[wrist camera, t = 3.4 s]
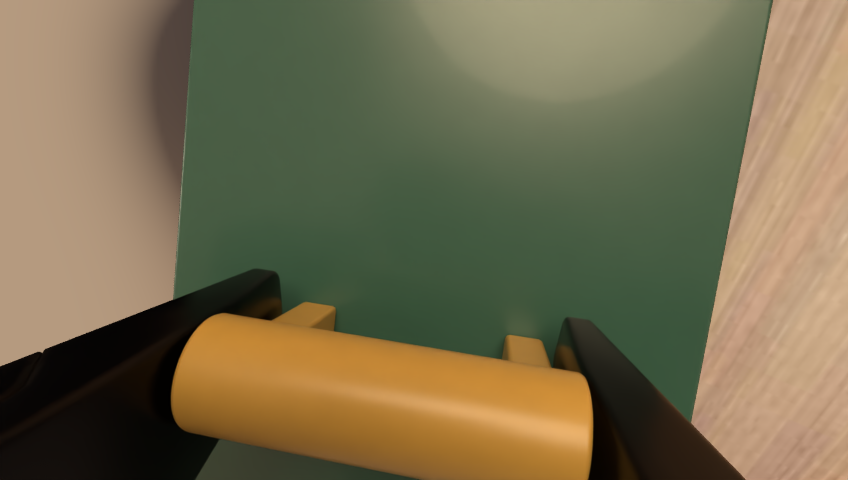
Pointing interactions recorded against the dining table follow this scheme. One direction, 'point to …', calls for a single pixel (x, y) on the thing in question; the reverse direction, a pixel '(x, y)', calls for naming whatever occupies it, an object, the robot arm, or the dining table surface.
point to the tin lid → (451, 223)
